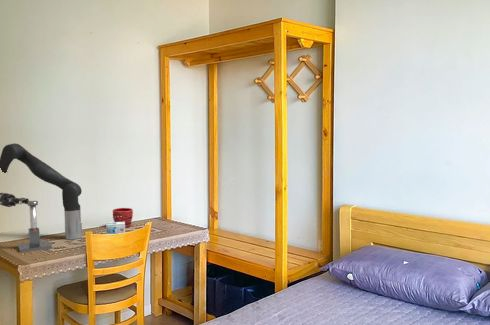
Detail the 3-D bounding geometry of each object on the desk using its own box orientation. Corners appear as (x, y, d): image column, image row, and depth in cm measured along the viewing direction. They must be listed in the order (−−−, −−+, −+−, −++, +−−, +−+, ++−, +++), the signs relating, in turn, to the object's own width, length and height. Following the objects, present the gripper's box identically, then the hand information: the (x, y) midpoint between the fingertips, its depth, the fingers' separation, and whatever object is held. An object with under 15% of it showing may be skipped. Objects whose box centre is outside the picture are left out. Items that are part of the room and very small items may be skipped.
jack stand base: (47, 242, 270) (47, 224, 269) (51, 248, 256) (51, 229, 255) (17, 246, 262) (16, 228, 261) (20, 252, 248) (19, 233, 247)
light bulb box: (106, 243, 267) (105, 224, 267) (106, 240, 274) (106, 222, 273) (125, 241, 270) (124, 223, 270) (125, 239, 277) (124, 221, 276)
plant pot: (109, 228, 308) (108, 210, 307) (120, 224, 321) (119, 207, 320) (126, 229, 304) (126, 211, 303) (136, 225, 317) (136, 208, 316)
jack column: (38, 242, 262) (37, 200, 261) (40, 244, 258) (38, 201, 256) (28, 243, 260) (27, 201, 258) (29, 245, 255) (27, 202, 254)
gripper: (-7, 194, 265) (10, 198, 257) (17, 192, 277) (33, 195, 269) (-7, 207, 266) (10, 211, 257) (17, 204, 278) (33, 208, 270)
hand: (22, 203), depth 263 cm, fingers open, 8 cm apart
